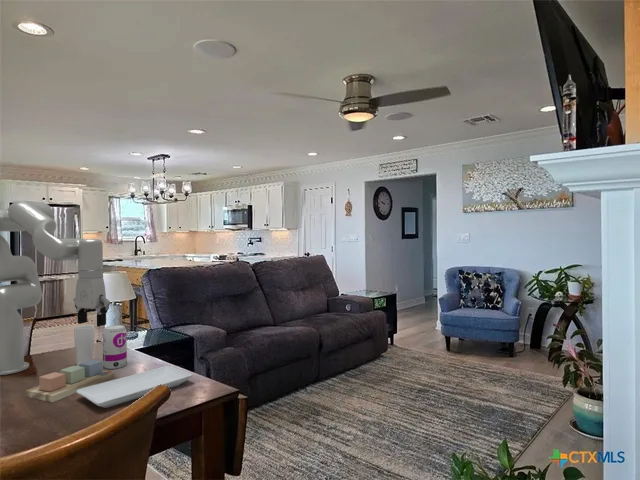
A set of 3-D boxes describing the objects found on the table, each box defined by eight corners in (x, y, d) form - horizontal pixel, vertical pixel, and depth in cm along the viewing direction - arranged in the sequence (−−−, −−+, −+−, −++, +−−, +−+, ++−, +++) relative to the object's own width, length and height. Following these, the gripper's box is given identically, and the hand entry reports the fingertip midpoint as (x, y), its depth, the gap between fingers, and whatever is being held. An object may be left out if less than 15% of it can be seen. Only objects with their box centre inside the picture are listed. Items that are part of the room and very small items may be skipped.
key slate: (79, 375, 145) (79, 363, 145) (91, 370, 150) (91, 359, 150) (89, 377, 143) (89, 365, 143) (102, 372, 148) (102, 361, 148)
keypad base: (25, 396, 132) (25, 389, 132) (89, 373, 153) (89, 366, 153) (52, 402, 127) (52, 395, 127) (114, 377, 149) (114, 371, 149)
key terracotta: (39, 389, 132) (39, 377, 132) (54, 384, 137) (54, 372, 137) (50, 391, 130) (50, 379, 130) (65, 386, 135) (65, 373, 135)
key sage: (60, 382, 139) (60, 370, 139) (74, 377, 143) (73, 365, 143) (71, 384, 137) (71, 372, 137) (84, 379, 142) (84, 367, 141)
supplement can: (131, 365, 162) (130, 326, 162) (110, 371, 155) (110, 330, 155) (118, 361, 167) (118, 323, 166) (98, 367, 160) (98, 327, 159)
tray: (74, 400, 130) (74, 389, 130) (168, 373, 154) (168, 364, 154) (98, 415, 119) (97, 403, 119) (194, 384, 143) (194, 374, 143)
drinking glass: (86, 369, 157) (85, 329, 157) (70, 368, 159) (69, 328, 158) (98, 363, 164) (98, 325, 164) (83, 362, 165) (83, 324, 165)
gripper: (64, 275, 145) (65, 324, 145) (98, 277, 138) (99, 329, 138) (84, 272, 152) (85, 320, 152) (117, 274, 145) (118, 324, 145)
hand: (91, 324), depth 145 cm, fingers open, 9 cm apart
